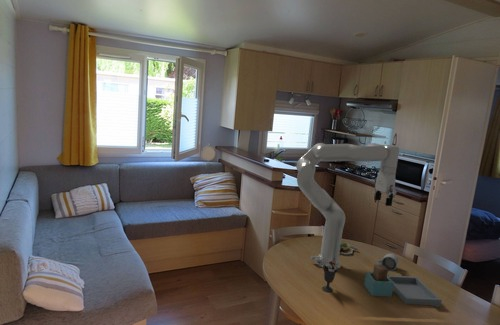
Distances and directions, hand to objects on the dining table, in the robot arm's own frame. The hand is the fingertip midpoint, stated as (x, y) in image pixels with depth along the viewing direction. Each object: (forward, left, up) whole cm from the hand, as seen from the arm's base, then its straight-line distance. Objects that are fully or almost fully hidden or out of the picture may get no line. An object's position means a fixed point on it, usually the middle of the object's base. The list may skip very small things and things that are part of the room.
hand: (382, 202), depth 178 cm
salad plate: (-11, +24, -37) cm, 45 cm away
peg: (-8, -24, -35) cm, 43 cm away
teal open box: (-8, -24, -36) cm, 44 cm away
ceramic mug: (+9, +2, -36) cm, 37 cm away
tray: (+8, -24, -36) cm, 44 cm away
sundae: (-31, -23, -36) cm, 53 cm away
